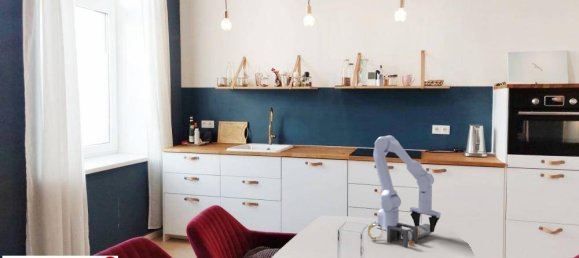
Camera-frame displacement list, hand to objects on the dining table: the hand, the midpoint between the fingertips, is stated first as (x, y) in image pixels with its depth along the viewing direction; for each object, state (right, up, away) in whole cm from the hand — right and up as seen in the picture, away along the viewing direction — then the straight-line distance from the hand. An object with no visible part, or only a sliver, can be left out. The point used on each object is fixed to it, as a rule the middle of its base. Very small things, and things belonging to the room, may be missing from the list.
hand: (424, 230), depth 215 cm
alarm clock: (-23, -3, -7) cm, 25 cm away
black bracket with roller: (-13, -3, -11) cm, 17 cm away
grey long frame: (-5, -2, -4) cm, 7 cm away
